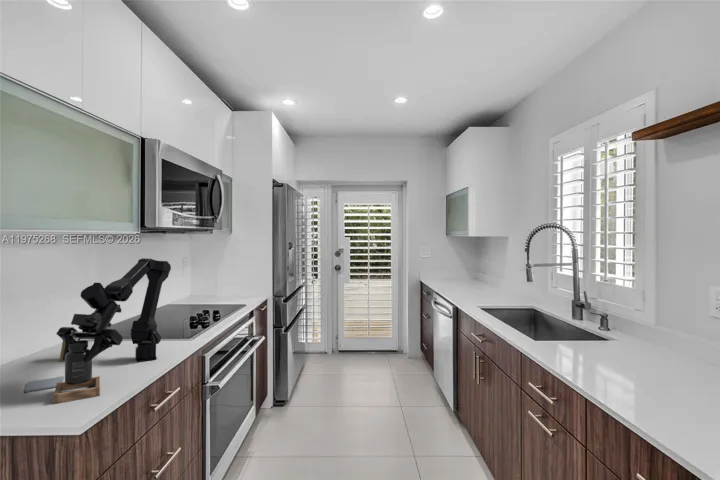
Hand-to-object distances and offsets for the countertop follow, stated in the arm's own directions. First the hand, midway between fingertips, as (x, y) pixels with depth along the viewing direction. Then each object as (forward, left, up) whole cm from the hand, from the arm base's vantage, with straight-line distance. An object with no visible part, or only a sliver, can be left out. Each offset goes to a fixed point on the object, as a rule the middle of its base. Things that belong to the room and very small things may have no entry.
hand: (74, 361), depth 118 cm
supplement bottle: (-1, -1, -7) cm, 7 cm away
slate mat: (+8, -14, -10) cm, 19 cm away
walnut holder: (-1, -1, -10) cm, 10 cm away
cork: (+3, -41, -11) cm, 42 cm away
